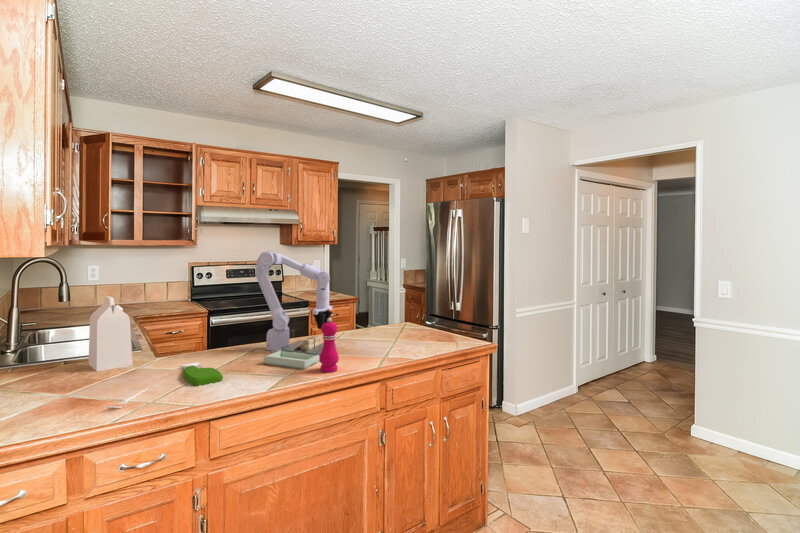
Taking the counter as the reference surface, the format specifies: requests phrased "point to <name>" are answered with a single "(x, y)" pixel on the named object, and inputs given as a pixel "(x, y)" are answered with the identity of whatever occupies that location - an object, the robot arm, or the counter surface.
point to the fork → (128, 399)
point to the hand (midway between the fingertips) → (322, 328)
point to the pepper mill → (329, 347)
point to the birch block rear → (315, 340)
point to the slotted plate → (297, 348)
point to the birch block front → (307, 343)
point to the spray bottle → (200, 374)
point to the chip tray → (291, 359)
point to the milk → (109, 337)
